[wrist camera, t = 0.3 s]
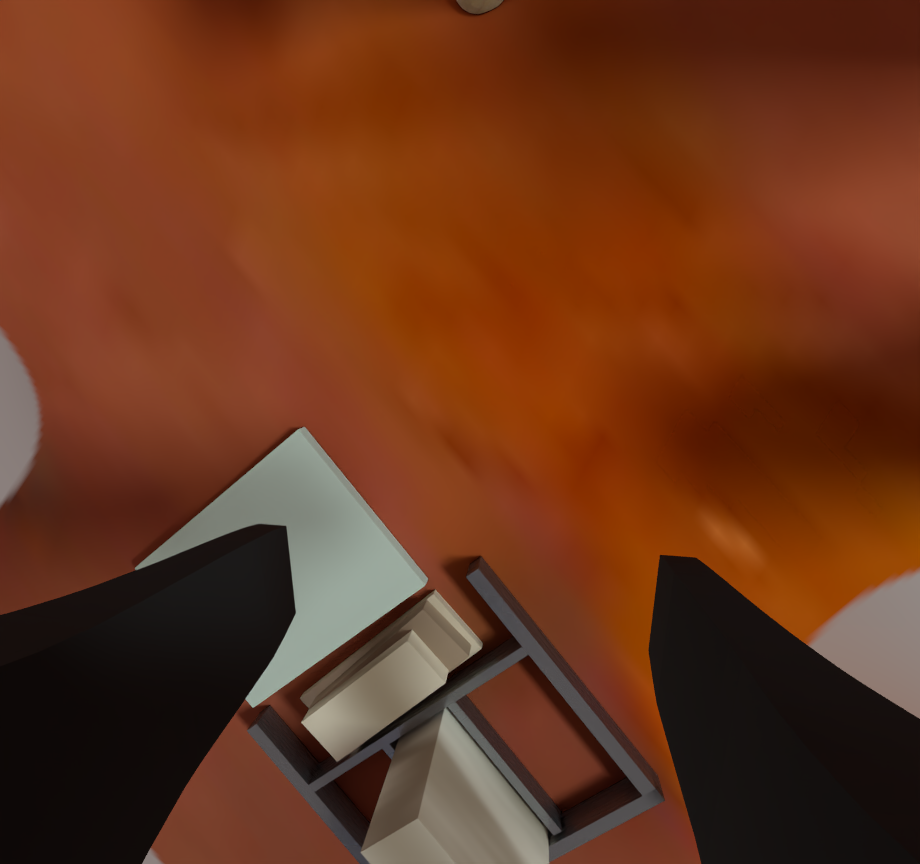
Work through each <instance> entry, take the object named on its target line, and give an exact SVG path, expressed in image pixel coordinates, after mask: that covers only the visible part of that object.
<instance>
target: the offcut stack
mask: <svg viewBox="0 0 920 864" xmlns="http://www.w3.org/2000/svg"><path fill="white" fill-rule="evenodd" d="M482 645H483V643H482V641H481V640H480V639H479V638H478V637H477V636H476V635H475V634H474V632H473V631H472V630H471V629H470V628H469V627H468V626H467V625H466V623H465V622H464V621H463V620H462V619H461V618H460V617H459V616H458V614H457V613H456V612H455V611H454V610H453V609H452V608H451V607H450V605H449V604H448V603H447V602H446V601H445V600H444V599H443V598H442V596H441V595H440V594H439V593H438V592H437V591H436V590H434V591H433V592H431V593H430V594H429V595H427V596H426V597H425V598H424V599H422V600H421V601H420V602H419V603H417V604H416V605H415V606H413V607H412V608H411V609H410V610H408V611H407V612H406V613H405V614H403V615H402V616H401V617H399V618H398V619H397V620H396V621H394V622H393V623H392V624H390V625H389V626H388V627H387V628H385V629H384V630H383V631H382V632H380V633H379V634H378V635H376V636H375V637H374V638H373V639H371V640H370V641H369V642H368V643H366V644H365V645H364V646H362V647H361V648H360V649H359V650H357V651H356V652H355V653H353V654H352V655H351V656H350V657H348V658H347V659H346V660H345V661H343V662H342V663H341V664H339V665H338V666H337V667H336V668H334V669H333V670H332V671H330V672H329V673H328V674H327V675H325V676H324V677H323V678H322V679H320V680H319V681H318V682H316V683H315V684H314V685H313V686H311V687H310V688H309V689H308V690H306V691H305V692H304V693H303V694H302V696H301V697H300V699H301V700H302V702H303V703H304V704H305V705H306V706H307V707H308V708H309V709H308V712H307V714H306V715H305V717H304V719H303V720H302V722H301V723H302V724H303V725H304V726H305V727H306V728H307V729H308V730H309V732H310V733H311V734H312V735H313V736H314V737H315V738H316V739H317V740H318V741H319V742H320V744H321V745H322V746H323V747H324V748H325V749H326V750H327V751H328V752H329V753H330V754H331V756H332V757H333V758H334V759H335V760H336V761H337V762H338V761H339V760H341V759H342V758H343V757H345V756H346V755H348V754H349V753H350V752H351V753H352V752H353V751H354V750H356V749H357V748H358V747H359V746H360V745H362V744H363V743H364V742H365V741H367V740H368V739H370V738H371V737H372V736H374V735H375V734H376V733H378V732H379V731H381V730H382V729H383V728H385V727H386V726H387V725H389V724H390V723H392V722H393V721H394V720H396V719H397V718H398V717H400V716H401V715H402V714H404V713H405V712H407V711H408V710H409V709H411V708H412V707H413V706H415V705H416V704H418V703H419V702H420V701H422V700H423V699H424V698H426V697H427V696H429V695H430V694H431V693H433V692H434V691H435V690H437V689H438V688H440V687H441V686H442V685H444V684H445V683H446V680H447V676H448V673H449V672H451V671H452V670H453V669H455V668H456V667H457V666H459V665H460V664H462V663H463V662H464V661H466V660H467V659H468V658H470V657H471V656H472V655H474V654H475V653H477V652H478V651H479V650H481V649H482Z"/></svg>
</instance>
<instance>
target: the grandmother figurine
mask: <svg viewBox="0 0 920 864" xmlns="http://www.w3.org/2000/svg"><path fill="white" fill-rule="evenodd" d="M456 1H457V3H458V4H459V5H460V6H461V8H462V9H464V10H465V11H467V12H469V13H473V14H481V13H484V12H487V11H490V10H492V9H494V8H495V7H497V6H499V5H500V4H501V3H502V2H503V0H456Z"/></svg>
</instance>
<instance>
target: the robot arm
mask: <svg viewBox="0 0 920 864" xmlns="http://www.w3.org/2000/svg"><path fill="white" fill-rule="evenodd" d="M295 614H296V609H295V600H294V590H293V581H292V572H291V563H290V554H289V545H288V536H287V527H286V526H283V525H270V524H255V525H252V526H248V527H245V528H242V529H239V530H236V531H233V532H231V533H228V534H225V535H223V536H220V537H218V538H215V539H213V540H210V541H208V542H205V543H203V544H200V545H198V546H195V547H193V548H190V549H188V550H186V551H183V552H181V553H178V554H176V555H173V556H171V557H169V558H166V559H164V560H161V561H159V562H156V563H154V564H151V565H148V566H146V567H143V568H141V569H138V570H135V571H133V572H130V573H127V574H125V575H122V576H120V577H117V578H114V579H112V580H109V581H106V582H104V583H101V584H98V585H96V586H93V587H90V588H87V589H84V590H81V591H78V592H75V593H72V594H69V595H66V596H63V597H60V598H57V599H54V600H51V601H47V602H44V603H41V604H37V605H34V606H31V607H28V608H24V609H21V610H17V611H14V612H10V613H7V614H3V615H0V864H142V863H143V861H144V859H145V857H146V855H147V853H148V851H149V850H150V848H151V846H152V844H153V842H154V841H155V839H156V837H157V835H158V834H159V832H160V830H161V828H162V827H163V825H164V823H165V821H166V820H167V818H168V816H169V814H170V813H171V811H172V809H173V807H174V806H175V804H176V802H177V800H178V798H179V797H180V795H181V793H182V791H183V790H184V788H185V786H186V785H187V783H188V782H189V780H190V779H191V777H192V776H193V774H194V772H195V771H196V769H197V768H198V766H199V765H200V763H201V762H202V760H203V759H204V757H205V756H206V754H207V753H208V752H209V750H210V749H211V747H212V746H213V744H214V743H215V742H216V740H217V739H218V737H219V736H220V734H221V733H222V732H223V730H224V729H225V727H226V726H227V724H228V723H229V722H230V720H231V719H232V717H233V716H234V714H235V713H236V712H237V710H238V709H239V707H240V706H241V704H242V703H243V702H244V700H245V699H246V697H247V696H248V694H249V693H250V691H251V690H252V689H253V687H254V686H255V684H256V683H257V681H258V680H259V678H260V677H261V675H262V674H263V672H264V671H265V670H266V668H267V667H268V665H269V664H270V662H271V661H272V659H273V658H274V656H275V654H276V652H277V650H278V648H279V646H280V644H281V643H282V641H283V639H284V637H285V635H286V633H287V631H288V629H289V627H290V624H291V622H292V620H293V618H294V616H295ZM649 657H650V664H651V670H652V677H653V684H654V690H655V696H656V702H657V706H658V710H659V713H660V717H661V721H662V724H663V728H664V731H665V735H666V738H667V742H668V745H669V749H670V752H671V756H672V759H673V763H674V766H675V770H676V773H677V777H678V780H679V784H680V787H681V791H682V794H683V798H684V801H685V804H686V808H687V811H688V815H689V818H690V822H691V825H692V829H693V832H694V836H695V839H696V843H697V847H698V851H699V855H700V860H701V864H920V719H919V718H917V717H916V716H914V715H912V714H911V713H909V712H907V711H906V710H904V709H903V708H901V707H899V706H898V705H896V704H894V703H893V702H891V701H890V700H888V699H886V698H885V697H883V696H882V695H880V694H878V693H877V692H875V691H874V690H872V689H870V688H869V687H867V686H866V685H864V684H862V683H861V682H859V681H858V680H856V679H855V678H853V677H852V676H850V675H849V674H847V673H846V672H844V671H843V670H841V669H840V668H838V667H837V666H835V665H834V664H833V663H831V662H830V661H828V660H827V659H825V658H824V657H823V656H822V655H820V654H819V653H817V652H816V651H815V650H813V649H812V648H810V647H809V646H807V645H806V644H805V643H803V642H802V641H801V640H799V639H798V638H797V637H795V636H794V635H793V634H791V633H790V632H789V631H787V630H786V629H785V628H783V627H782V626H781V625H779V624H778V623H777V622H776V621H774V620H773V619H772V618H770V617H769V616H768V615H767V614H765V613H764V612H763V611H762V610H760V609H759V608H758V607H757V606H755V605H754V604H753V603H752V602H750V601H749V600H748V599H747V598H746V597H744V596H743V595H742V594H741V593H740V592H738V591H737V590H736V589H735V588H733V587H732V586H731V585H730V584H729V583H727V582H726V581H725V580H724V579H723V578H721V577H720V576H719V575H718V574H716V573H715V572H714V571H713V570H712V569H710V568H709V567H708V566H707V565H705V564H704V563H703V562H701V561H700V560H698V559H697V558H693V557H680V556H667V555H660V559H659V568H658V576H657V584H656V593H655V601H654V609H653V617H652V626H651V634H650V642H649Z"/></svg>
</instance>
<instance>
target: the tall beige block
mask: <svg viewBox="0 0 920 864" xmlns="http://www.w3.org/2000/svg"><path fill="white" fill-rule="evenodd" d="M361 854H362V855H363V856H364V857H365V858H366V859H367V861H368V862H369V863H370V864H549V844H548V828H547V827H546V826H545V824H544V823H543V822H542V821H541V819H540V818H539V817H538V816H537V815H536V813H535V812H534V811H533V810H532V808H531V807H530V806H529V805H528V804H527V802H526V801H525V800H524V799H523V798H522V796H521V795H520V794H519V793H518V791H517V790H516V789H515V788H514V787H513V785H512V784H511V783H510V782H509V781H508V779H507V778H506V777H505V776H504V774H503V773H502V772H501V771H500V770H499V768H498V767H497V766H496V765H495V763H494V762H493V761H492V760H491V759H490V757H489V756H488V755H487V754H486V753H485V751H484V750H483V749H482V748H481V746H480V745H479V744H478V743H477V742H476V740H475V739H474V738H473V737H472V736H471V734H470V733H469V732H468V731H467V729H466V728H465V727H464V726H463V725H462V723H461V722H460V721H459V720H458V719H457V717H456V716H455V715H454V714H453V712H452V711H451V710H450V709H449V708H448V707H446V708H445V709H443V710H441V711H440V712H438V713H437V714H435V715H434V716H432V717H431V718H429V719H427V720H426V721H424V722H423V723H421V724H420V725H418V726H417V727H415V728H413V729H412V730H410V731H409V732H407V733H406V734H404V735H402V736H401V737H399V740H398V743H397V746H396V749H395V752H394V755H393V758H392V761H391V764H390V767H389V770H388V773H387V775H386V778H385V781H384V784H383V787H382V790H381V793H380V796H379V799H378V802H377V805H376V808H375V811H374V814H373V817H372V820H371V823H370V826H369V829H368V832H367V835H366V838H365V841H364V844H363V846H362V849H361Z"/></svg>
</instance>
